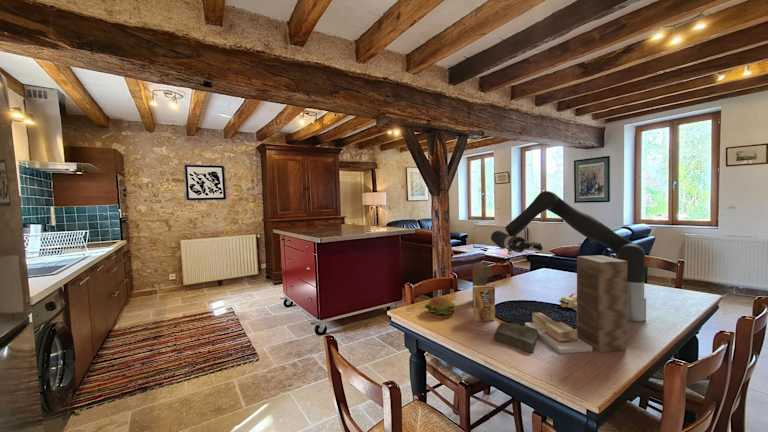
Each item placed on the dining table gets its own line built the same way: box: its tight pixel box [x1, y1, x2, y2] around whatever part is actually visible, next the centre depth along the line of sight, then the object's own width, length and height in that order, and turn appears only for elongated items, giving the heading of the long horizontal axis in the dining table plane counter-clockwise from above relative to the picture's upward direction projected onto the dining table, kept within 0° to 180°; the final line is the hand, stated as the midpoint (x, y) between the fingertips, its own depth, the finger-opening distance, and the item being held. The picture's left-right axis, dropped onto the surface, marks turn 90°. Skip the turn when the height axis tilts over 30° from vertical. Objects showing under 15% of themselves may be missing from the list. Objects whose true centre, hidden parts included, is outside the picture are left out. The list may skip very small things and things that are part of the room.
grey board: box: [524, 321, 593, 354], centre depth 124 cm, size 12×24×2 cm, turn 4°
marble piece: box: [493, 322, 538, 354], centre depth 123 cm, size 17×15×4 cm
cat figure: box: [558, 293, 577, 309], centre depth 160 cm, size 10×9×25 cm
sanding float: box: [531, 312, 577, 343], centre depth 127 cm, size 7×21×4 cm, turn 4°
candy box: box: [472, 284, 496, 322], centre depth 144 cm, size 9×4×15 cm, turn 92°
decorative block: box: [472, 263, 493, 287], centre depth 167 cm, size 11×6×20 cm, turn 12°
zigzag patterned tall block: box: [576, 254, 628, 353], centre depth 117 cm, size 10×12×32 cm
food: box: [424, 296, 456, 319], centre depth 153 cm, size 14×14×8 cm
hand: (532, 248), depth 143 cm, fingers open, 8 cm apart
